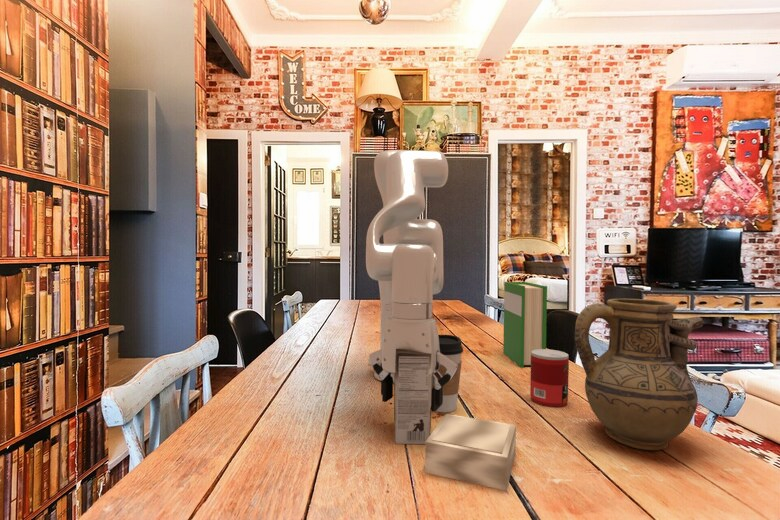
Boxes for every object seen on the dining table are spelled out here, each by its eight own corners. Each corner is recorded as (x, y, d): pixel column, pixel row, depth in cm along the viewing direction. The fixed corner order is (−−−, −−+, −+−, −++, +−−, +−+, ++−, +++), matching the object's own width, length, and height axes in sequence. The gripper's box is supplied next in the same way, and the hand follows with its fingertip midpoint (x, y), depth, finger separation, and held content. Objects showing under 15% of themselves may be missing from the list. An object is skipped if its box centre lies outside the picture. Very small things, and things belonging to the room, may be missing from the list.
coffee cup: (465, 403, 91) (466, 335, 91) (459, 417, 83) (460, 343, 83) (428, 398, 94) (429, 333, 94) (418, 411, 86) (419, 340, 86)
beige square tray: (425, 474, 62) (425, 440, 62) (445, 441, 73) (445, 412, 73) (506, 493, 58) (507, 456, 58) (515, 454, 69) (515, 424, 69)
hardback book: (545, 368, 121) (547, 286, 120) (520, 367, 121) (521, 286, 120) (525, 353, 138) (526, 282, 138) (503, 353, 138) (504, 281, 138)
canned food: (571, 408, 89) (572, 358, 89) (532, 405, 90) (533, 355, 90) (563, 396, 96) (564, 350, 96) (528, 394, 98) (528, 348, 98)
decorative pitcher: (589, 458, 67) (592, 305, 67) (559, 416, 85) (561, 294, 84) (735, 469, 64) (739, 309, 64) (673, 422, 82) (676, 297, 81)
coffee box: (393, 422, 80) (394, 340, 80) (426, 423, 80) (427, 340, 80) (394, 444, 71) (395, 351, 71) (431, 444, 71) (432, 352, 71)
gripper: (361, 310, 76) (360, 402, 76) (450, 318, 68) (449, 420, 69) (380, 306, 83) (379, 390, 83) (463, 312, 75) (462, 405, 75)
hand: (411, 404), depth 76 cm, fingers open, 9 cm apart
